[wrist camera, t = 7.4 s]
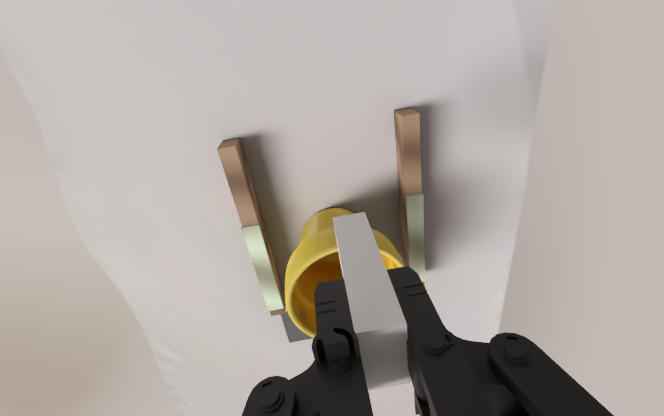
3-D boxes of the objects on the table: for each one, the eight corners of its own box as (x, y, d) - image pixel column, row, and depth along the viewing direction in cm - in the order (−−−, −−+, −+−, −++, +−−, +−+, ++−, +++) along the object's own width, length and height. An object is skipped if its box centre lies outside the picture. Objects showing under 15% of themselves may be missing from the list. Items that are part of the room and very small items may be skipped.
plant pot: (401, 234, 36) (436, 297, 28) (330, 288, 39) (342, 361, 30) (340, 169, 32) (359, 219, 23) (264, 234, 34) (256, 302, 26)
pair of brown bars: (222, 140, 30) (215, 150, 27) (410, 107, 30) (421, 113, 28) (272, 299, 39) (270, 317, 36) (417, 272, 39) (425, 288, 36)
